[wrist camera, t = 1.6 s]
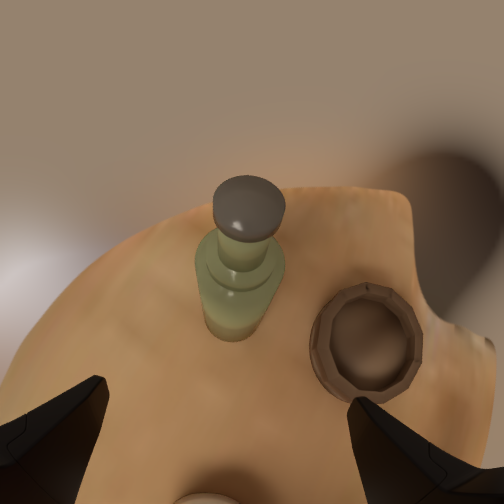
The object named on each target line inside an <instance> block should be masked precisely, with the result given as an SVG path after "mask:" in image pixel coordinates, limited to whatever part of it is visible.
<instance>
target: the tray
mask: <svg viewBox="0 0 504 504" xmlns="http://www.w3.org/2000/svg"><path fill="white" fill-rule="evenodd" d="M422 349H423V333H422V330H421V328H420V325H419V323H418V320H417V318H416V315H415V313H414V311H413V308H412V307H411V306H410V305H409V304H408V303H407V302H406V301H405V300H404V299H403V298H402V297H401V296H399V295H398V294H397V293H396V292H395V291H394V290H393V289H392V288H388V287H384V286H380V285H376V284H372V283H368V282H365V283H362V284H359V285H356V286H353V287H350V288H347V289H344V290H341V291H339V292H338V293H337V294H336V295H335V297H334V298H333V299H332V300H331V301H330V302H329V303H328V304H327V305H326V306H325V307H324V308H323V309H322V310H321V312H320V313H319V314H318V316H317V318H316V320H315V322H314V325H313V327H312V331H311V335H310V343H309V350H310V359H311V363H312V366H313V369H314V372H315V374H316V376H317V378H318V379H319V381H320V383H321V384H322V385H323V386H324V388H325V389H326V390H327V391H328V392H330V393H331V394H332V395H333V396H335V397H336V398H338V399H340V400H342V401H345V402H348V403H352V401H353V399H354V398H355V397H360V396H365V397H367V398H368V399H370V400H371V401H372V402H374V403H375V404H384V403H385V402H387V401H389V400H390V399H392V398H394V397H395V396H397V395H399V394H400V393H402V392H403V391H405V390H407V389H408V388H409V386H410V384H411V382H412V381H413V379H414V377H415V375H416V373H417V371H418V369H419V367H420V366H421V364H422Z"/></svg>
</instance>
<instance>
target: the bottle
mask: <svg viewBox="0 0 504 504" xmlns="http://www.w3.org/2000/svg"><path fill="white" fill-rule="evenodd" d="M285 207H286V206H285V199H284V196H283V194H282V193H281V191H280V190H279V189H278V188H277V187H276V186H275V185H273V184H272V183H271V182H269V181H267V180H265V179H263V178H260V177H256V176H249V175H244V176H237V177H233V178H231V179H228V180H226V181H224V182H223V183H222V184H221V185H220V186H219V187H218V188H217V190H216V191H215V193H214V196H213V218H214V222H215V224H216V226H217V228H216V229H214V230H212V231H211V232H209V233H208V234H207V235H206V236H205V237H204V238H203V239H202V241H201V242H200V244H199V246H198V248H197V251H196V255H195V268H196V274H197V280H198V286H199V292H200V298H201V303H202V309H203V314H204V319H205V323H206V326H207V328H208V329H209V331H210V332H211V333H212V334H213V335H214V336H215V337H217V338H218V339H220V340H223V341H226V342H239V341H242V340H245V339H247V338H248V337H250V336H251V335H252V334H253V333H254V332H255V331H256V329H257V327H258V325H259V323H260V321H261V320H262V318H263V316H264V314H265V312H266V310H267V308H268V306H269V304H270V302H271V300H272V298H273V296H274V294H275V292H276V290H277V288H278V286H279V284H280V282H281V280H282V278H283V275H284V271H285V259H284V254H283V251H282V249H281V247H280V245H279V244H278V242H277V241H276V240H275V238H274V237H273V235H274V234H275V233H276V232H277V230H278V229H279V227H280V224H281V221H282V218H283V215H284V212H285Z"/></svg>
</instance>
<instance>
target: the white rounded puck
mask: <svg viewBox="0 0 504 504" xmlns="http://www.w3.org/2000/svg"><path fill="white" fill-rule="evenodd" d="M174 504H240V503H239V502H237V501H236V500H234V499H232V498H229V497H227V496H224V495H220V494H214V493H196V494H191V495H188V496H185V497H183V498H181V499H179V500H178V501H176V502H175V503H174Z"/></svg>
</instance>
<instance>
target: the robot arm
mask: <svg viewBox="0 0 504 504" xmlns="http://www.w3.org/2000/svg"><path fill="white" fill-rule="evenodd" d="M108 401H109V390H108V386H107V382H106V379H105V378H104V377H101V376H98V375H93V376H91V377H90V378H88V379H86V380H85V381H83V382H81V383H79V384H78V385H76V386H74V387H72V388H71V389H69V390H67V391H65V392H64V393H62V394H60V395H58V396H57V397H55V398H53V399H51V400H50V401H48V402H46V403H44V404H42V405H41V406H39V407H37V408H35V409H33V410H32V411H30V412H28V413H27V414H24V415H22V416H21V417H19V418H17V419H15V420H13V421H11V422H9V423H6V424H4V425H1V426H0V504H75V501H76V497H77V494H78V491H79V488H80V485H81V482H82V479H83V476H84V474H85V471H86V468H87V465H88V462H89V460H90V457H91V454H92V452H93V449H94V446H95V444H96V441H97V439H98V436H99V433H100V430H101V427H102V423H103V419H104V415H105V412H106V408H107V405H108ZM347 420H348V425H349V431H350V437H351V443H352V449H353V452H354V456H355V459H356V463H357V466H358V470H359V473H360V477H361V480H362V484H363V488H364V491H365V495H366V499H367V502H368V504H504V467H499V468H492V469H481V468H477V467H474V466H472V465H470V464H468V463H466V462H464V461H462V460H460V459H458V458H456V457H454V456H452V455H450V454H448V453H446V452H445V451H443V450H441V449H440V448H438V447H437V446H435V445H434V444H432V443H431V442H428V441H427V440H426V439H425V438H423V437H422V436H420V435H419V434H417V433H416V432H414V431H413V430H411V429H410V428H409V427H407V426H406V425H404V424H403V423H401V422H400V421H399V420H397V419H396V418H394V417H393V416H392V415H390V414H389V413H387V412H386V411H385V410H383V409H382V408H381V407H379V406H378V405H377V404H375V403H374V402H372V401H371V400H370V399H368V398H367V397H365V396H360V397H355V398H354V399H353V401H352V403H351V405H350V407H349V409H348V412H347Z"/></svg>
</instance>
